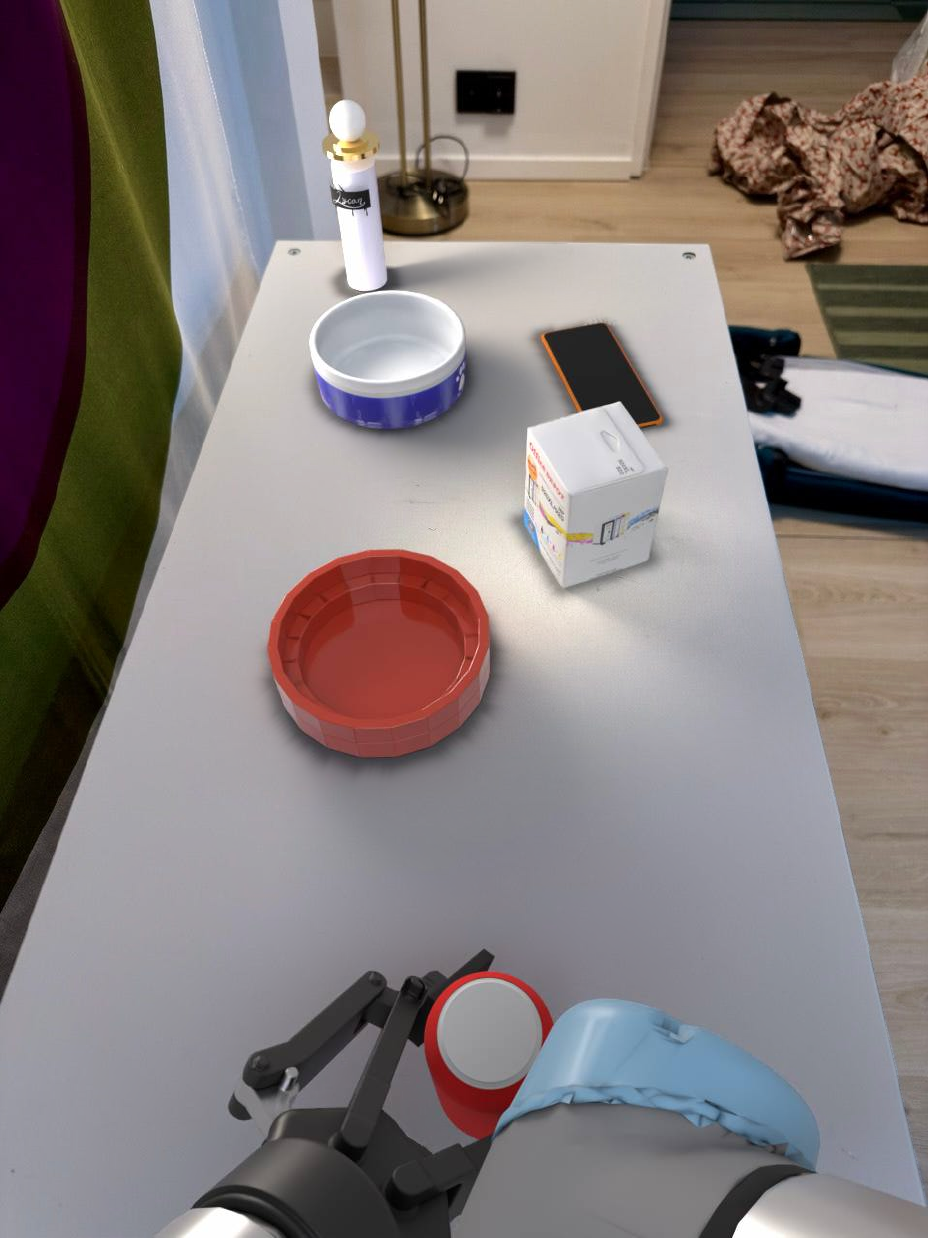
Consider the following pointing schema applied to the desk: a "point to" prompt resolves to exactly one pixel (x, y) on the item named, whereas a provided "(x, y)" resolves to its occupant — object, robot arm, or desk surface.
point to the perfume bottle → (356, 195)
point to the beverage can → (483, 1046)
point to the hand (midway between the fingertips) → (530, 1010)
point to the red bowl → (380, 652)
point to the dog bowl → (389, 358)
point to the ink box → (592, 493)
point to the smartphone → (599, 371)
